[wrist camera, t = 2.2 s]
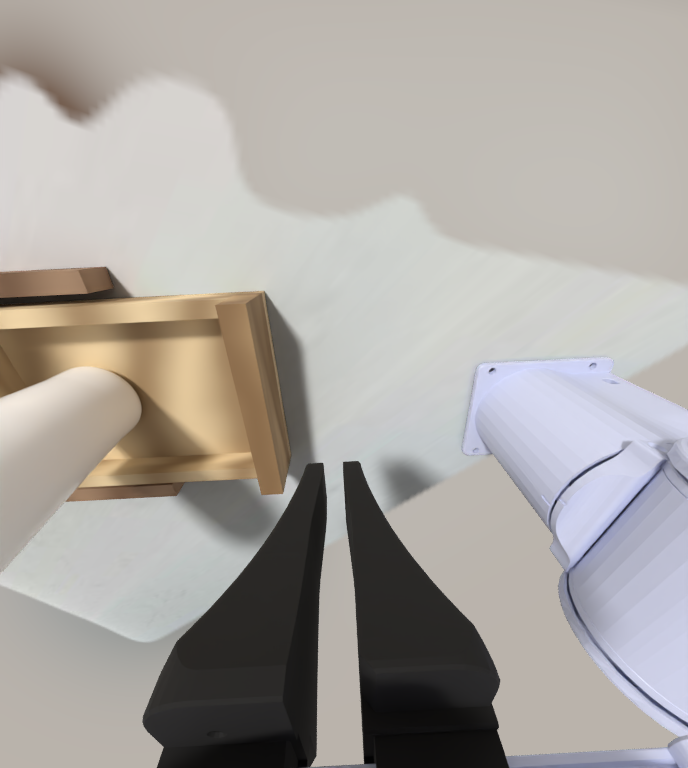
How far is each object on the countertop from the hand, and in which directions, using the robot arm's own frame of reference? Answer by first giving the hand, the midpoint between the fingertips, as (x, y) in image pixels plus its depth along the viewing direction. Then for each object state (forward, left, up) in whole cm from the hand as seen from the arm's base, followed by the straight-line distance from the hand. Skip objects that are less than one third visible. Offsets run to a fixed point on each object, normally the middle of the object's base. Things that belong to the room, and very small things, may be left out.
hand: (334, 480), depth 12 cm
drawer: (+13, 0, -9) cm, 16 cm away
